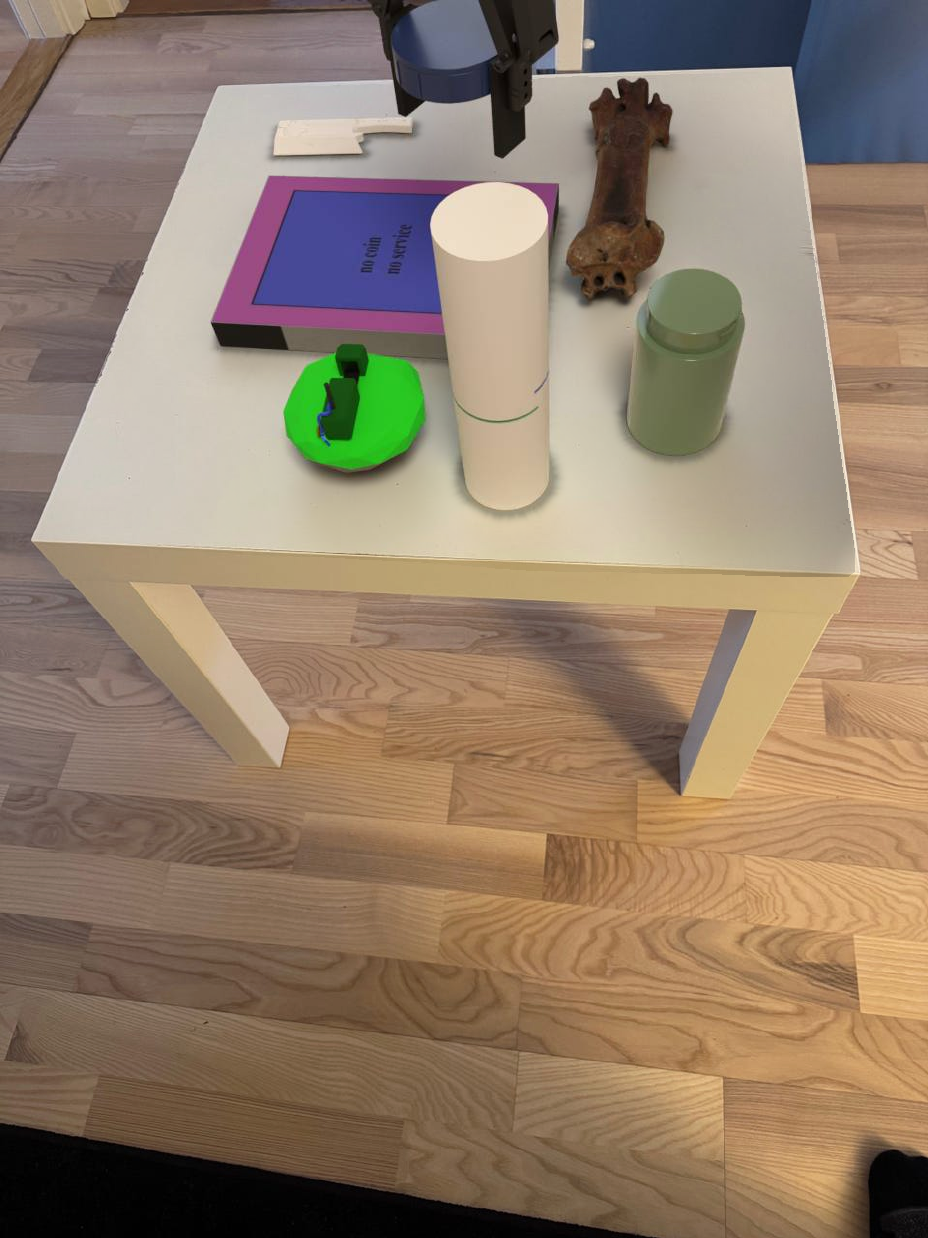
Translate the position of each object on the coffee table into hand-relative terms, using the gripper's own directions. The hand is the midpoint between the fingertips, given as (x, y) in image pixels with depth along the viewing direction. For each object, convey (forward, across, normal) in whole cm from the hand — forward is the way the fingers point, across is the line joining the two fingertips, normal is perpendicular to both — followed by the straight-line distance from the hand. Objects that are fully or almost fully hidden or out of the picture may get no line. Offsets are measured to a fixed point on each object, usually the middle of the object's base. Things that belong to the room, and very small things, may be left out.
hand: (460, 125), depth 67 cm
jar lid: (-6, 0, 0) cm, 6 cm away
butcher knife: (+21, +31, -15) cm, 41 cm away
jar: (+21, -20, -2) cm, 29 cm away
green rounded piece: (+21, +1, +15) cm, 26 cm away
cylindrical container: (+21, -12, +11) cm, 26 cm away
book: (+21, +12, -2) cm, 25 cm away
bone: (+21, 0, -22) cm, 31 cm away
